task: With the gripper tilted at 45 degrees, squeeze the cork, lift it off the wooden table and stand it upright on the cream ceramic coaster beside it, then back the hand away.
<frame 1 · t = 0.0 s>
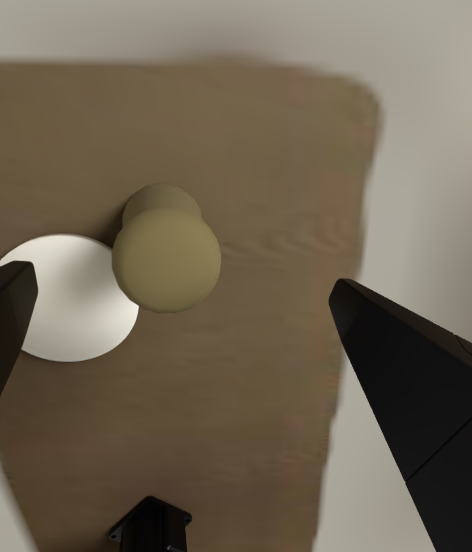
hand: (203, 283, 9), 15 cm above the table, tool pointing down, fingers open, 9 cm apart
coaster: (71, 297, 24), on the table
cork: (163, 224, 24), on the table
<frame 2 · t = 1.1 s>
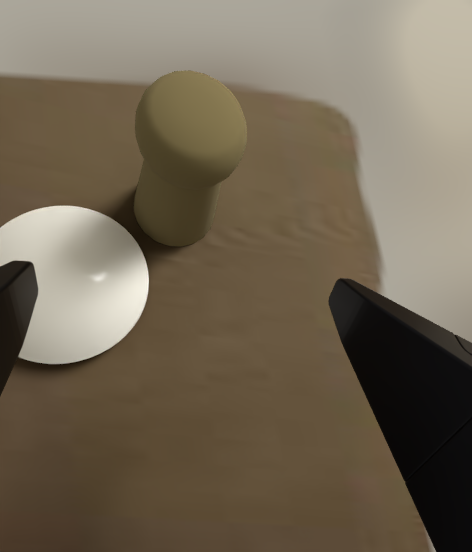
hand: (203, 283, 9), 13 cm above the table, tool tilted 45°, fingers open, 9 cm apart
coaster: (70, 284, 21), on the table
cork: (175, 209, 24), on the table
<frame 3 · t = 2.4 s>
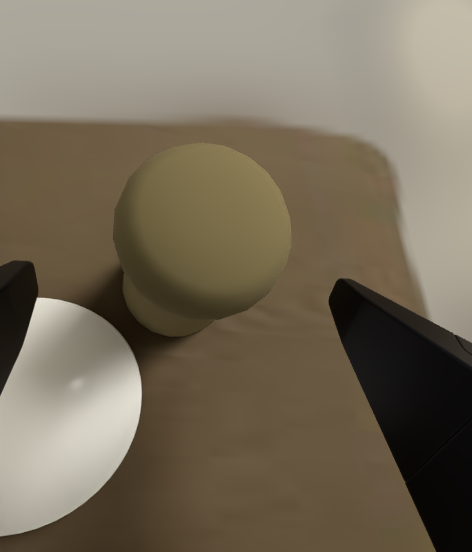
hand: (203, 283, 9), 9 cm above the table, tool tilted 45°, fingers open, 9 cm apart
coaster: (34, 402, 15), on the table
cork: (176, 285, 18), on the table
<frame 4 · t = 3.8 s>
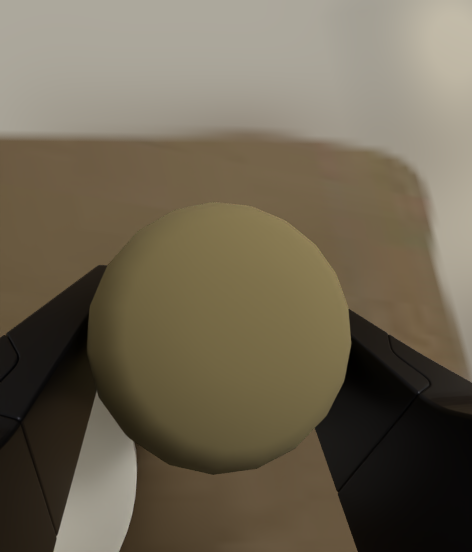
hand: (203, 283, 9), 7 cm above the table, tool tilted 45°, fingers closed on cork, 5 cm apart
coaster: (5, 489, 12), on the table
cork: (179, 332, 15), on the table, touching gripper
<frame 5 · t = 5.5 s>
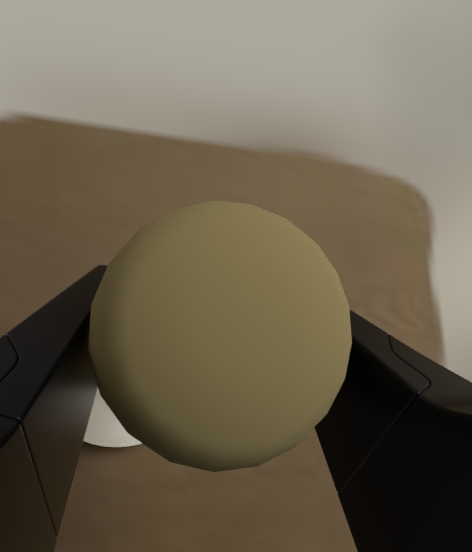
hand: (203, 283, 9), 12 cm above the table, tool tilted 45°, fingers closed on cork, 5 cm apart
coaster: (130, 354, 20), on the table
cork: (180, 331, 15), point 5 cm above the table, touching gripper
when the fingers open (9 cm above the table, at t = 7.3 s): cork drops 1 cm, resting on coaster.
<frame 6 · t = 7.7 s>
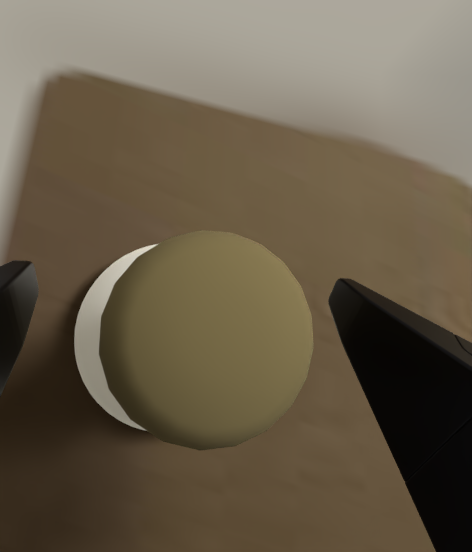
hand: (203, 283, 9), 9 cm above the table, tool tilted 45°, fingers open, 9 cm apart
coaster: (175, 332, 18), on the table
cork: (177, 334, 17), point 1 cm above the table, touching coaster
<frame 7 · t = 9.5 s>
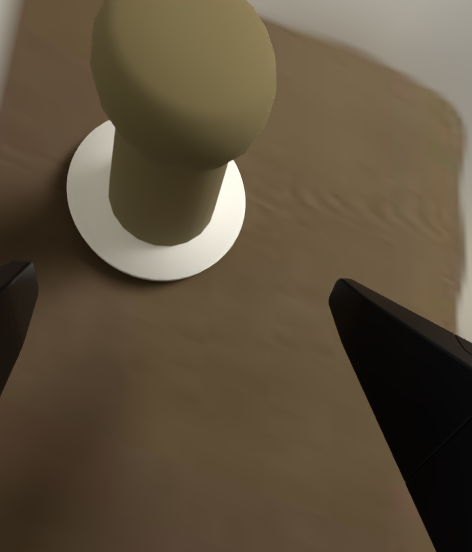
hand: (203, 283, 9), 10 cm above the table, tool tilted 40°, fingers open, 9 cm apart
coaster: (161, 200, 19), on the table
cork: (164, 196, 18), point 1 cm above the table, touching coaster
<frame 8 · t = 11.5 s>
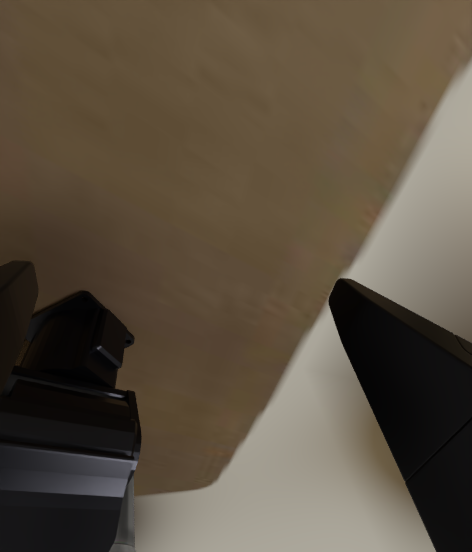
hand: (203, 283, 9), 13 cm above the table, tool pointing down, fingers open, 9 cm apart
beverage cup: (113, 453, 37), on the table
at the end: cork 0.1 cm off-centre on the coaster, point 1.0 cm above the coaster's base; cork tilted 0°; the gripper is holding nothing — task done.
